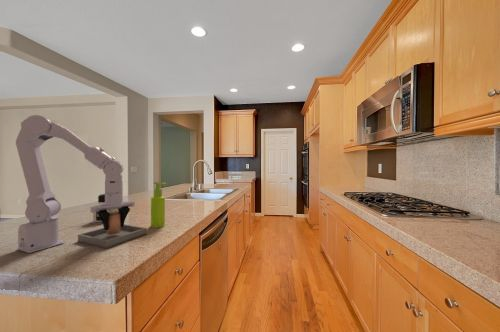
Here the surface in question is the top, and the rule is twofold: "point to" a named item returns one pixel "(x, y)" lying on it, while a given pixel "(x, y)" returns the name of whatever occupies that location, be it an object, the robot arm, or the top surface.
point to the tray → (111, 236)
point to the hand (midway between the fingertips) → (113, 227)
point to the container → (101, 201)
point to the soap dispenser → (158, 207)
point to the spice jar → (114, 223)
